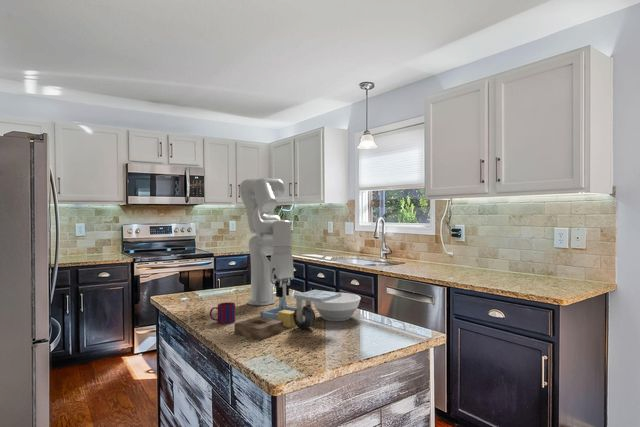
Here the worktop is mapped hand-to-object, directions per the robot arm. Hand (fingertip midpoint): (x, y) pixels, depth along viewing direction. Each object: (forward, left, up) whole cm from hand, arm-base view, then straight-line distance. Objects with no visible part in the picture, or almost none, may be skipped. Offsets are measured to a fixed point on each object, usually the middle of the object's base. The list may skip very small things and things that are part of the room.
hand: (282, 295), depth 165 cm
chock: (+8, +9, -9) cm, 15 cm away
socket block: (+21, +8, -8) cm, 24 cm away
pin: (0, 0, -5) cm, 5 cm away
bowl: (-11, +19, -9) cm, 23 cm away
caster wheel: (+7, +22, -9) cm, 24 cm away
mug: (+20, -13, -9) cm, 25 cm away
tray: (0, 0, -8) cm, 9 cm away
